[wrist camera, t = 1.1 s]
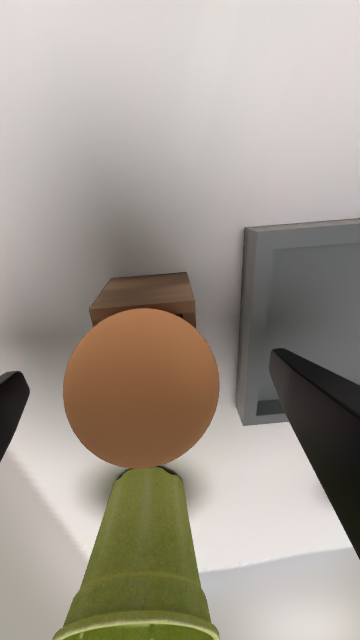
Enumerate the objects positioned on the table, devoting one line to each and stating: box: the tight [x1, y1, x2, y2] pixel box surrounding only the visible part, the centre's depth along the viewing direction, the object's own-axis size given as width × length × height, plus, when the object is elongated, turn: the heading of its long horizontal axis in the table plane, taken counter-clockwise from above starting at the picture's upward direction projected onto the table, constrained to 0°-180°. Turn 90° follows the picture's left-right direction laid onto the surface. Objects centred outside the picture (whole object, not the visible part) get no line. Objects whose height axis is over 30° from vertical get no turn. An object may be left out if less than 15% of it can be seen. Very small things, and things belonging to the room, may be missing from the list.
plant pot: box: [52, 467, 220, 640], centre depth 17 cm, size 9×9×9 cm
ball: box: [63, 308, 219, 469], centre depth 8 cm, size 5×5×5 cm
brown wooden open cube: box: [89, 272, 196, 329], centre depth 12 cm, size 4×4×4 cm
